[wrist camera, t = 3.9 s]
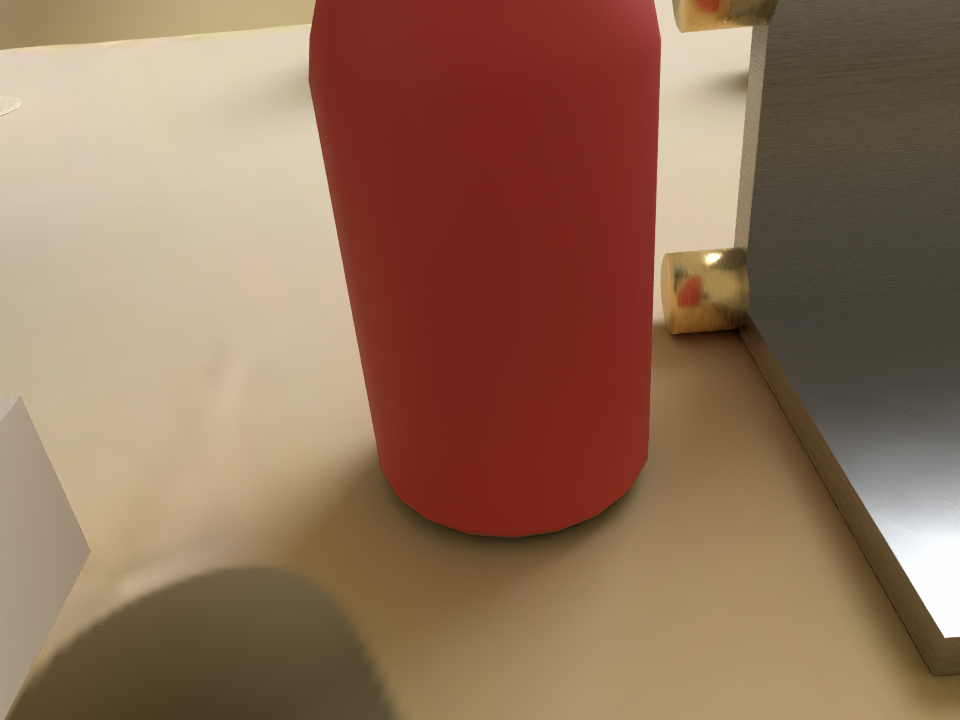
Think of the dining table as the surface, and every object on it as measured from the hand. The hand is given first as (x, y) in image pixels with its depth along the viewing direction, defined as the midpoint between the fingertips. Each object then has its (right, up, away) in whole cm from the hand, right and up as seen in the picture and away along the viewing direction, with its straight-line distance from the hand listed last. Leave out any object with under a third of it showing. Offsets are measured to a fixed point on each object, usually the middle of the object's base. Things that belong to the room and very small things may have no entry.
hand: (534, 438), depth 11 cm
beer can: (0, -2, +10) cm, 10 cm away
